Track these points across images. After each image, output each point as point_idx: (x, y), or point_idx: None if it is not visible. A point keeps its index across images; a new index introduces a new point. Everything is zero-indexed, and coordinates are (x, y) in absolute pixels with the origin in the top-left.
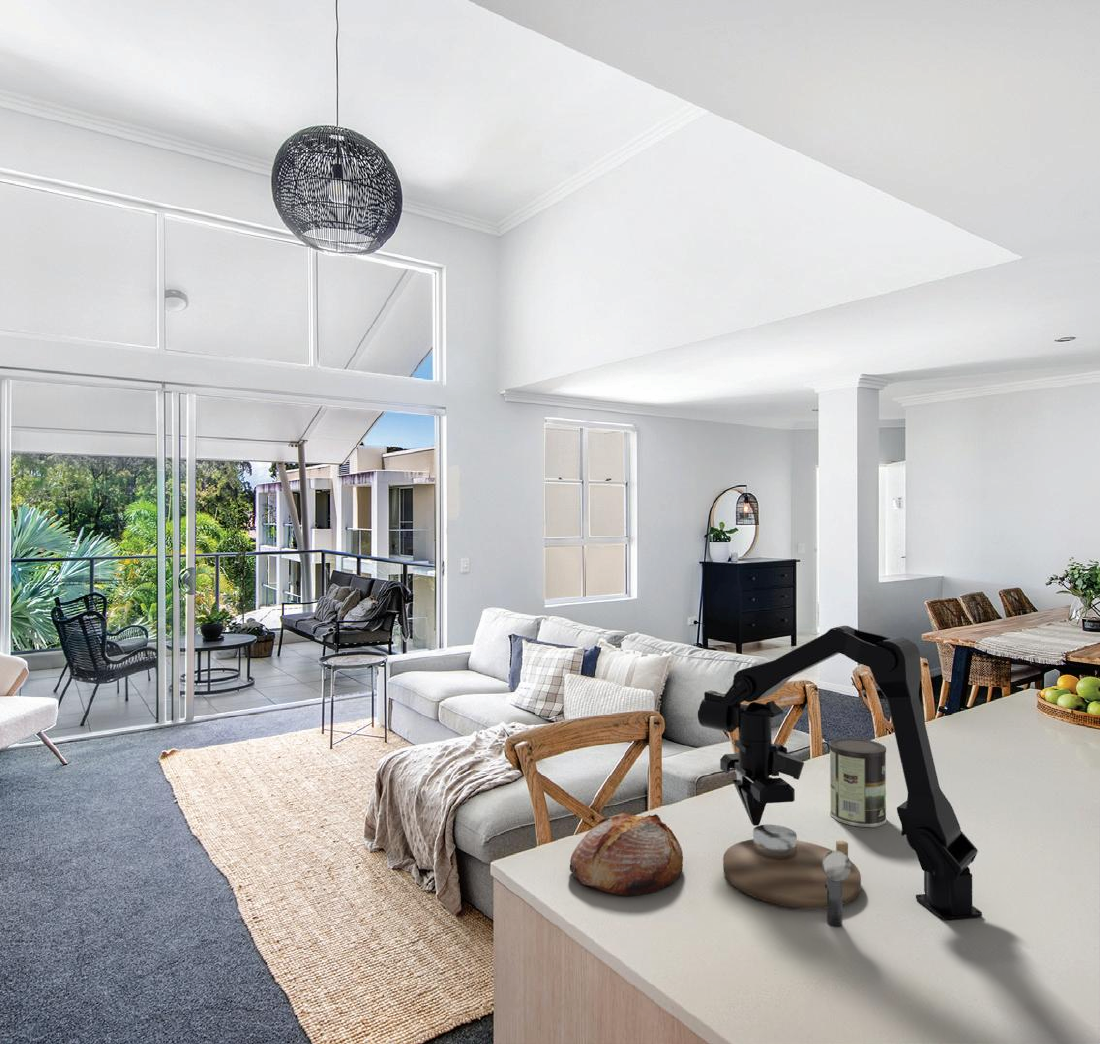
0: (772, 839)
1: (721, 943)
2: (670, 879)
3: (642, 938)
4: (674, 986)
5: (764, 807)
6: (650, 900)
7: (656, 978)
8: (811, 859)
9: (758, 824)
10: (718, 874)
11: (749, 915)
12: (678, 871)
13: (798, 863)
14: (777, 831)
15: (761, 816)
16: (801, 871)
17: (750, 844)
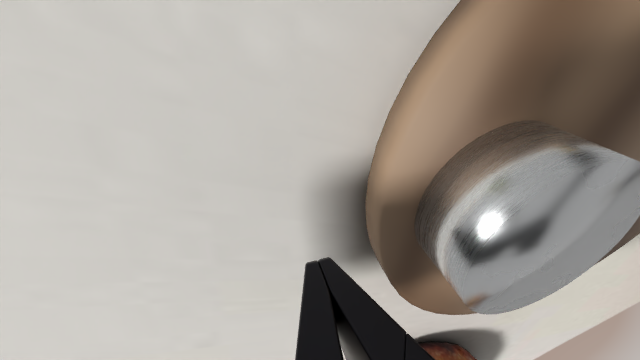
0: (587, 261)
1: (605, 280)
2: (472, 356)
3: (542, 341)
4: (617, 309)
5: (416, 344)
6: (479, 351)
7: (598, 321)
8: (617, 78)
9: (332, 262)
10: None
11: None
12: (460, 356)
13: (601, 143)
14: (551, 238)
15: (365, 293)
16: (637, 149)
17: (418, 263)
